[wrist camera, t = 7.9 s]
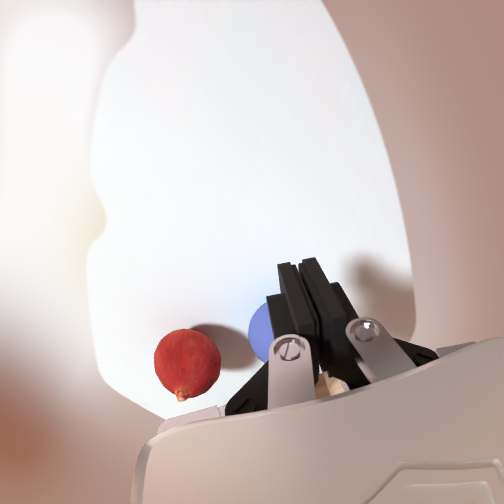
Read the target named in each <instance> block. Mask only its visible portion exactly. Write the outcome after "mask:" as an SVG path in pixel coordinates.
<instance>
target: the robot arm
mask: <svg viewBox="0 0 504 504" xmlns="http://www.w3.org/2000/svg"><path fill="white" fill-rule="evenodd" d="M277 267H278V275H279V282H280V290H281V294H276V295H271V296H266V299H267V305H268V311H269V316H270V322H271V327H272V331H273V336H274V341H273V342H272V344H271V345H270V348H269V360H268V361H267V362H266V363H265V364H264V365H263V366H262V367H261V368H260V369H259V371H258V372H257V373H256V374H255V375H254V376H253V377H252V378H251V379H250V380H249V381H248V382H247V383H246V384H245V385H244V386H243V387H242V388H241V389H240V390H239V391H238V392H237V393H236V394H235V395H234V396H233V397H232V398H231V399H230V400H229V401H228V403H227V404H226V405H224V406H221V407H217V405H216V406H213V407H209V408H206V409H203V410H199V411H196V412H192V413H189V414H185V415H181V416H178V417H174V418H170V419H168V420H165V421H164V422H163V423H162V424H161V425H160V426H159V428H158V431H157V432H158V433H157V436H155V437H153V438H152V439H151V440H149V441H148V442H147V443H146V444H145V445H144V446H143V448H142V449H141V451H140V454H139V456H138V459H137V462H136V466H135V470H134V476H133V482H132V491H131V504H504V337H494V338H489V339H485V340H482V341H479V342H468V343H464V344H459V345H455V346H449V347H443V348H438V349H436V351H435V352H434V351H432V350H430V349H428V348H425V347H421V346H418V345H414V344H411V343H408V342H405V341H402V340H399V339H395V338H392V337H391V336H390V334H389V333H388V332H387V331H386V330H385V329H384V327H383V326H382V325H381V324H380V323H379V322H378V321H376V320H374V319H372V318H367V317H362V318H359V317H358V315H357V313H356V312H355V310H354V308H353V306H352V305H351V303H350V301H349V299H348V298H347V296H346V294H345V293H344V291H343V289H342V287H341V286H340V284H339V283H338V282H334V283H329V281H328V280H327V278H326V276H325V274H324V272H323V271H322V269H321V267H320V265H319V263H318V262H317V260H316V258H315V257H313V258H308V259H303V260H302V263H299V264H298V268H299V272H298V270H297V267H296V265H295V264H294V265H291V264H290V262H287V263H282V264H277ZM319 364H320V367H321V370H322V372H325V371H327V374H328V377H329V378H331V377H335V378H337V379H339V380H341V385H342V387H343V389H344V390H345V392H343V393H339V394H335V395H332V396H328V397H324V398H320V399H316V398H315V388H314V386H315V385H316V384H317V382H318V380H319Z"/></svg>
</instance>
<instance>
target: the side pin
mask: <svg viewBox="0 0 504 504" xmlns="http://www.w3.org/2000/svg"><path fill="white" fill-rule="evenodd" d="M322 373H323V376H324V378H325V381H326V384H327V387H328V390H329V393H330V396H332V395H335V394H339V393H343V392H345V390H344V389H343V387H342V385H341V380H339V379H337V378H335V377H331V378H329V377H328V374H327V371H325V372H322Z"/></svg>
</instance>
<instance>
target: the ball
mask: <svg viewBox="0 0 504 504" xmlns="http://www.w3.org/2000/svg"><path fill="white" fill-rule="evenodd" d="M248 336H249V342H250V345H251V348H252V350H253V351H254V353H255V354H256V356H257V357H258V358H259V359H260V360H261V361H263V362H264V363H266V362H267V361H268V360H269V348H270V345H271V344H272V342H273V341H274V336H273V331H272V327H271V322H270V316H269V311H268V305H267V302H266V303H265V304H263V305H262V306H261V307H260V308H259V309H258V310H257V311H256V312H255V314H254V315H253V317H252V319H251V321H250V325H249V331H248Z"/></svg>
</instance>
